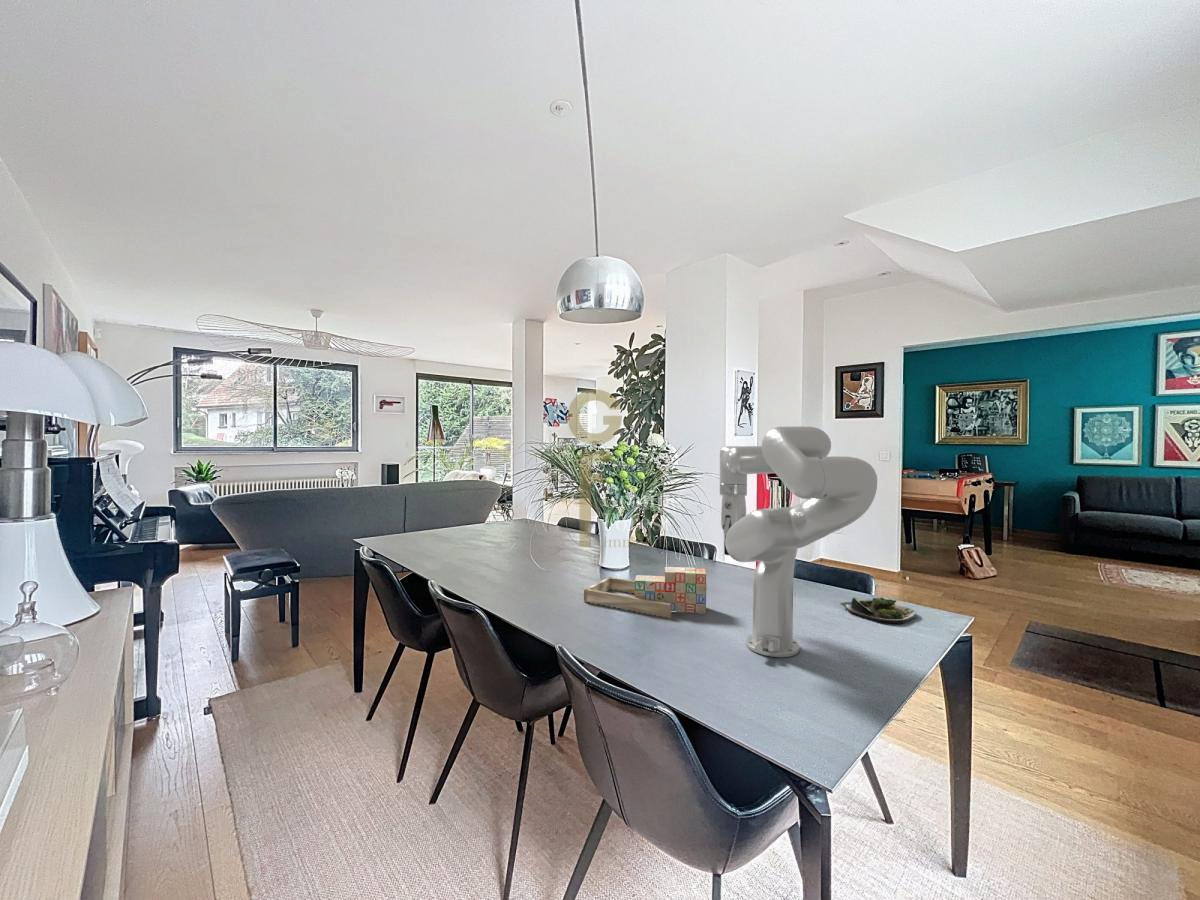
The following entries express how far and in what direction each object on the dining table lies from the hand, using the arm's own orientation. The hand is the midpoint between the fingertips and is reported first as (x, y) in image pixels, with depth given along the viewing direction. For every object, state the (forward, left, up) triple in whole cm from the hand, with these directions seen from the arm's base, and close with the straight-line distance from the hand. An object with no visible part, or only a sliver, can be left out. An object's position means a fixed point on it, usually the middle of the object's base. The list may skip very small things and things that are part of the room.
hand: (732, 552), depth 147 cm
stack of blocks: (0, +19, -20) cm, 27 cm away
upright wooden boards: (0, +31, -19) cm, 36 cm away
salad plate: (+26, -36, -20) cm, 49 cm away
